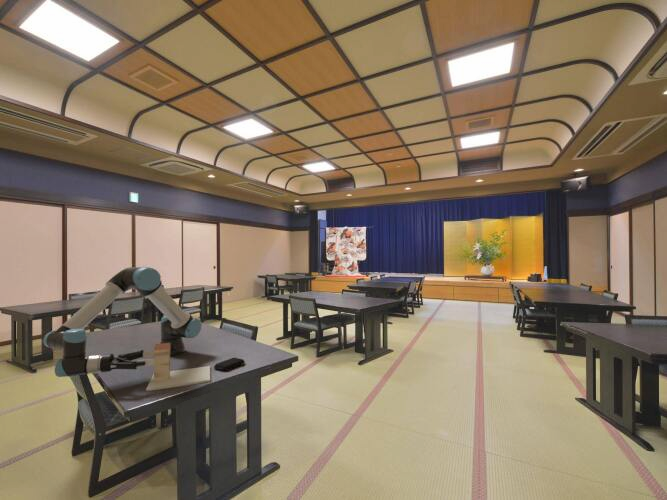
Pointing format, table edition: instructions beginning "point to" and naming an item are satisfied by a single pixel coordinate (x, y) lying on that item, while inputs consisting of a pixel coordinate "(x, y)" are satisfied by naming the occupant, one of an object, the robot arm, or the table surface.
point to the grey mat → (182, 378)
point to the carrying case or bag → (229, 364)
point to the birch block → (161, 362)
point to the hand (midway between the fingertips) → (156, 357)
